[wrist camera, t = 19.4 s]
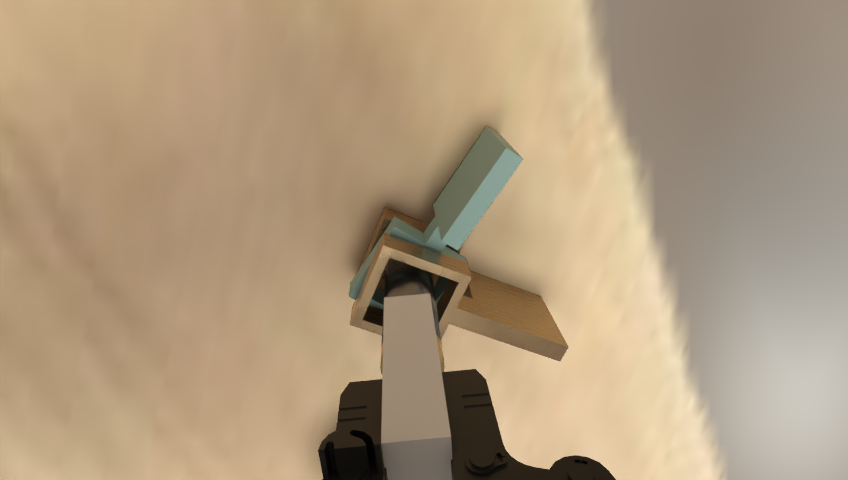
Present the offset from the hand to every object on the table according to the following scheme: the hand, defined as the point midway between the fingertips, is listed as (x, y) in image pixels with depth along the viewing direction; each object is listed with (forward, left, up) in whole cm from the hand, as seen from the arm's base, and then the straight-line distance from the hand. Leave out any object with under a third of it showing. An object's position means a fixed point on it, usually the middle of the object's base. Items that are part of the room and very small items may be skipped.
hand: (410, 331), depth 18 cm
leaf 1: (+4, -2, -21) cm, 22 cm away
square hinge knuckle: (+7, -6, -21) cm, 23 cm away
